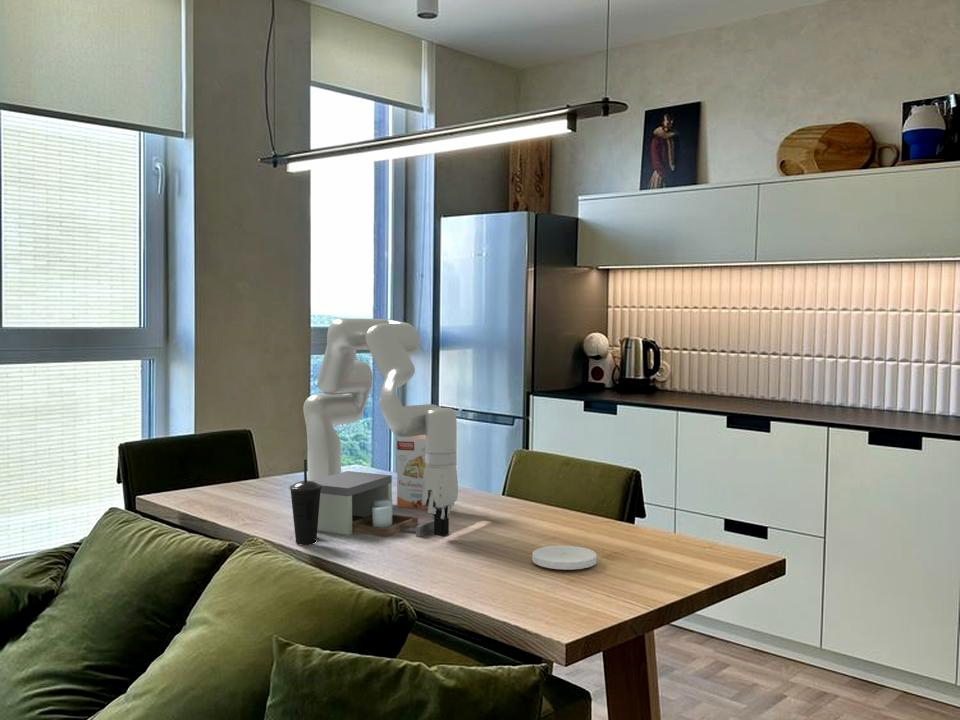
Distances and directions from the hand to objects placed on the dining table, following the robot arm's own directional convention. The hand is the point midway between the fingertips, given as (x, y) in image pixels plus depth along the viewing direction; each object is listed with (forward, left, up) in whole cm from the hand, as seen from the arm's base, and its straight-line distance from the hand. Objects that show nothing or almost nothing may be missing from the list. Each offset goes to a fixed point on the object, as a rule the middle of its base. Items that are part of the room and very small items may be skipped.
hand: (441, 534), depth 218 cm
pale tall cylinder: (-2, -18, 0) cm, 19 cm away
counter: (+1, -21, -1) cm, 21 cm away
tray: (+1, -13, -1) cm, 13 cm away
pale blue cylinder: (+4, -14, 0) cm, 15 cm away
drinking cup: (+18, -27, -1) cm, 32 cm away
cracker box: (-25, -20, -2) cm, 32 cm away
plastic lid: (+6, +35, -2) cm, 35 cm away
